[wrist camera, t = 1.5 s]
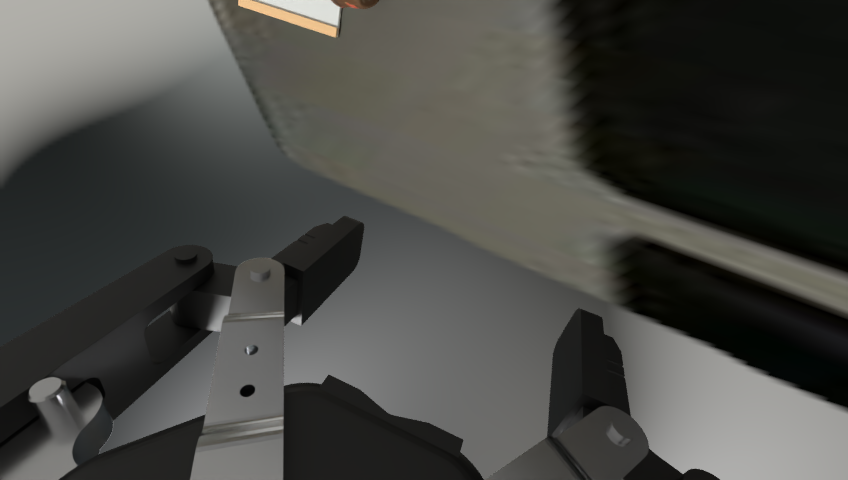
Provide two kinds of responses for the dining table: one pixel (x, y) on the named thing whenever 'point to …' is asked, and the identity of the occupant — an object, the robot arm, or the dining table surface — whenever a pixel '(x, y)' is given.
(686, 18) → the dining table surface
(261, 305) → the robot arm
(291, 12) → the mat
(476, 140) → the dining table surface
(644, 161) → the dining table surface
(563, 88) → the dining table surface
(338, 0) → the tin
